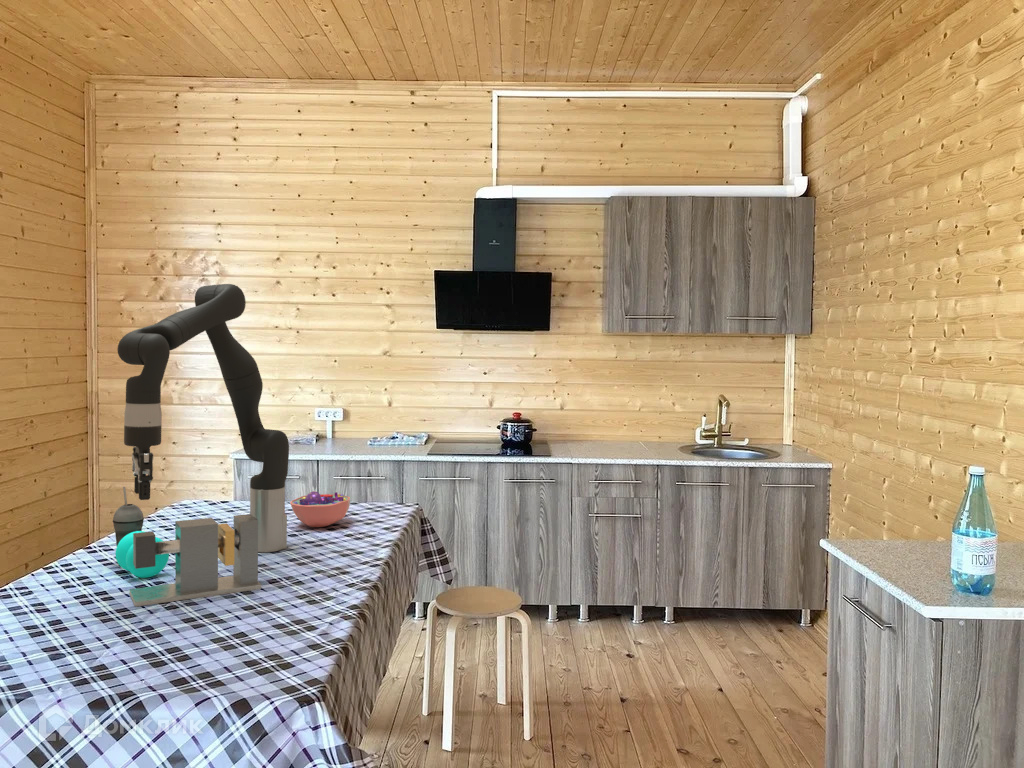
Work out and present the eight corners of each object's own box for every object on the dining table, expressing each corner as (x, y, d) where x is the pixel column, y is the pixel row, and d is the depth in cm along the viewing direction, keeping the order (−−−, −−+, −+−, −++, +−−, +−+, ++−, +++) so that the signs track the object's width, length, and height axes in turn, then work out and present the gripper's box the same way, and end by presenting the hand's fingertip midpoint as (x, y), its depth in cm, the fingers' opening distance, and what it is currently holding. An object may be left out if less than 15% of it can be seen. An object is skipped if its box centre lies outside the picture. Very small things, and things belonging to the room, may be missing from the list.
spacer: (226, 556, 191) (226, 523, 191) (234, 564, 184) (234, 530, 184) (217, 557, 190) (217, 524, 190) (225, 565, 183) (225, 531, 183)
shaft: (250, 550, 192) (250, 521, 192) (254, 554, 189) (254, 525, 188) (133, 564, 179) (133, 533, 178) (135, 568, 175) (135, 537, 175)
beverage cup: (131, 569, 200) (131, 490, 198) (106, 567, 201) (105, 488, 200) (150, 561, 207) (150, 485, 206) (125, 559, 208) (125, 483, 207)
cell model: (363, 523, 255) (363, 488, 254) (316, 535, 238) (317, 498, 237) (325, 516, 264) (325, 482, 263) (277, 527, 247) (278, 491, 246)
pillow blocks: (251, 577, 196) (251, 512, 195) (261, 588, 187) (261, 521, 186) (129, 593, 181) (129, 524, 180) (134, 606, 173) (134, 533, 172)
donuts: (155, 565, 203) (155, 527, 203) (171, 574, 196) (170, 534, 196) (113, 573, 196) (113, 533, 196) (128, 582, 189) (128, 541, 189)
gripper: (166, 426, 173) (165, 500, 173) (157, 420, 185) (156, 490, 185) (127, 427, 169) (126, 503, 169) (121, 421, 181) (120, 492, 181)
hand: (142, 496), depth 177 cm, fingers open, 8 cm apart
